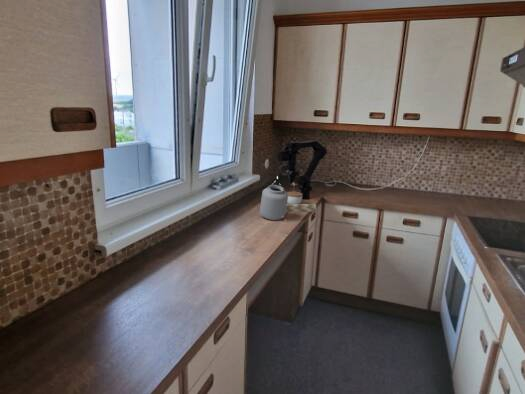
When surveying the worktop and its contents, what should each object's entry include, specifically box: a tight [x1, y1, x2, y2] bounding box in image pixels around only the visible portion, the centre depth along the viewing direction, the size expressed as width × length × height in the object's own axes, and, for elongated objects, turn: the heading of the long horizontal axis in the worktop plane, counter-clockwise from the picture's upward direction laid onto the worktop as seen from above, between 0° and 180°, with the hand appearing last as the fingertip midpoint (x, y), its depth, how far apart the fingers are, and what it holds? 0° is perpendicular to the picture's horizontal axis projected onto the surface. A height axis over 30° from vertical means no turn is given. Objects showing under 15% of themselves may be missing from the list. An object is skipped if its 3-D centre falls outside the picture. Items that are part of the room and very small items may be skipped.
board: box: [285, 203, 317, 213], centre depth 220 cm, size 20×3×4 cm, turn 100°
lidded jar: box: [286, 190, 303, 204], centre depth 233 cm, size 11×11×9 cm
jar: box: [259, 175, 288, 221], centre depth 201 cm, size 19×15×25 cm
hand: (290, 183), depth 242 cm, fingers closed
